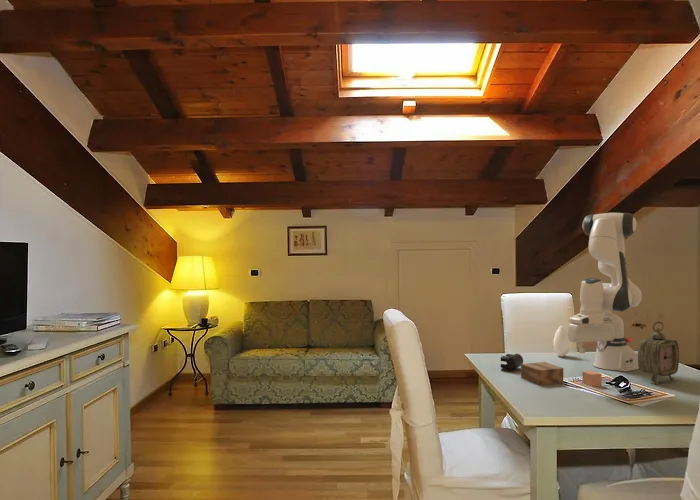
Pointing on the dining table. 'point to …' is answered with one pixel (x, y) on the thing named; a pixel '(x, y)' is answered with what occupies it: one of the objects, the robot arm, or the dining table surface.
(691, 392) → the dining table surface
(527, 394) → the dining table surface
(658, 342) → the tabletop clock
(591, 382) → the terracotta block
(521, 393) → the dining table surface
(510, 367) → the end cap
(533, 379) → the walnut block
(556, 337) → the white teardrop ornament
